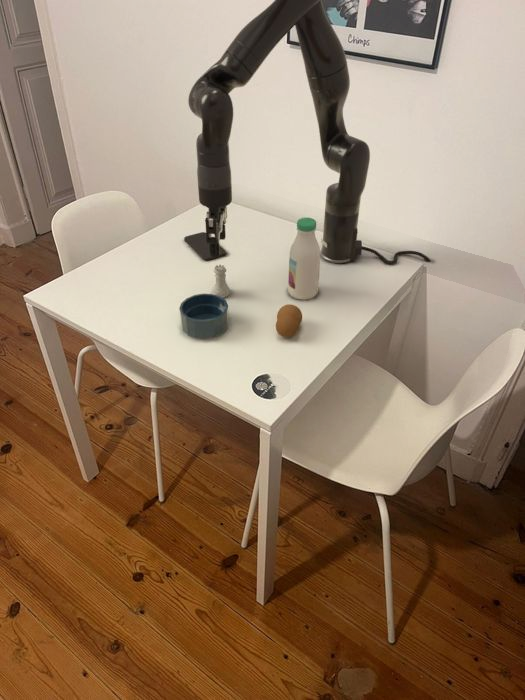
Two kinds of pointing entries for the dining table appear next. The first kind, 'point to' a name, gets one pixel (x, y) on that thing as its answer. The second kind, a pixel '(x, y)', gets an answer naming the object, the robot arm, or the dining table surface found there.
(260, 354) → the dining table surface
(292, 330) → the potato
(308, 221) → the milk bottle
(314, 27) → the robot arm
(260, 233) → the dining table surface
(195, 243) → the phone
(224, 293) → the rook chess piece
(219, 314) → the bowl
